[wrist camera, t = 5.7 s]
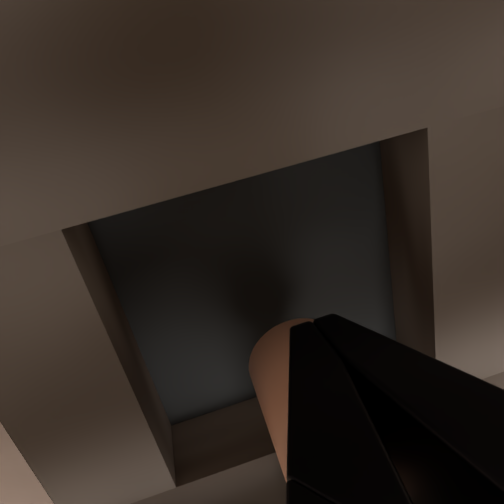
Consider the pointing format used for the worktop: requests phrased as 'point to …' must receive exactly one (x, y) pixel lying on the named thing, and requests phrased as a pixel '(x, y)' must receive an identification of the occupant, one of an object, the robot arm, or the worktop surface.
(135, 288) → the deck
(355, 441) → the robot arm
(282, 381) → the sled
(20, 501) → the worktop surface
